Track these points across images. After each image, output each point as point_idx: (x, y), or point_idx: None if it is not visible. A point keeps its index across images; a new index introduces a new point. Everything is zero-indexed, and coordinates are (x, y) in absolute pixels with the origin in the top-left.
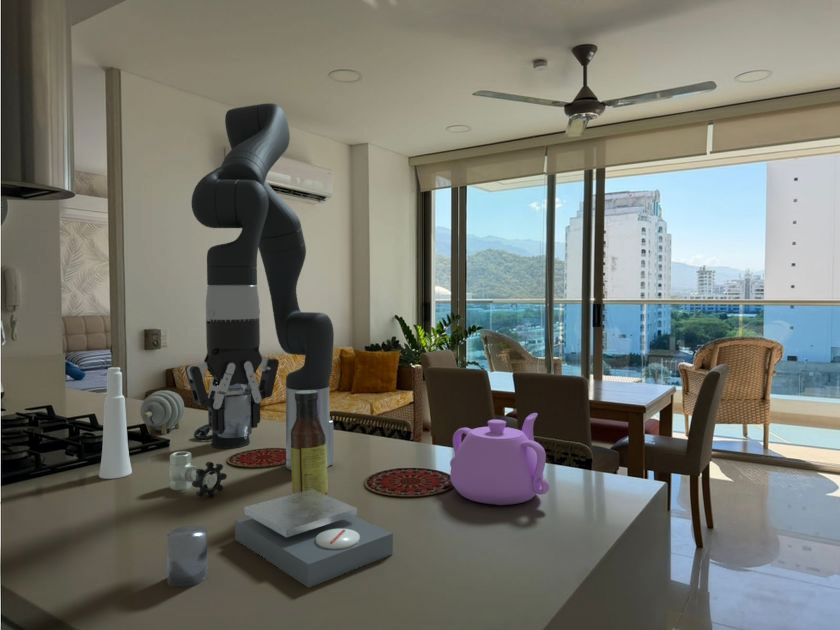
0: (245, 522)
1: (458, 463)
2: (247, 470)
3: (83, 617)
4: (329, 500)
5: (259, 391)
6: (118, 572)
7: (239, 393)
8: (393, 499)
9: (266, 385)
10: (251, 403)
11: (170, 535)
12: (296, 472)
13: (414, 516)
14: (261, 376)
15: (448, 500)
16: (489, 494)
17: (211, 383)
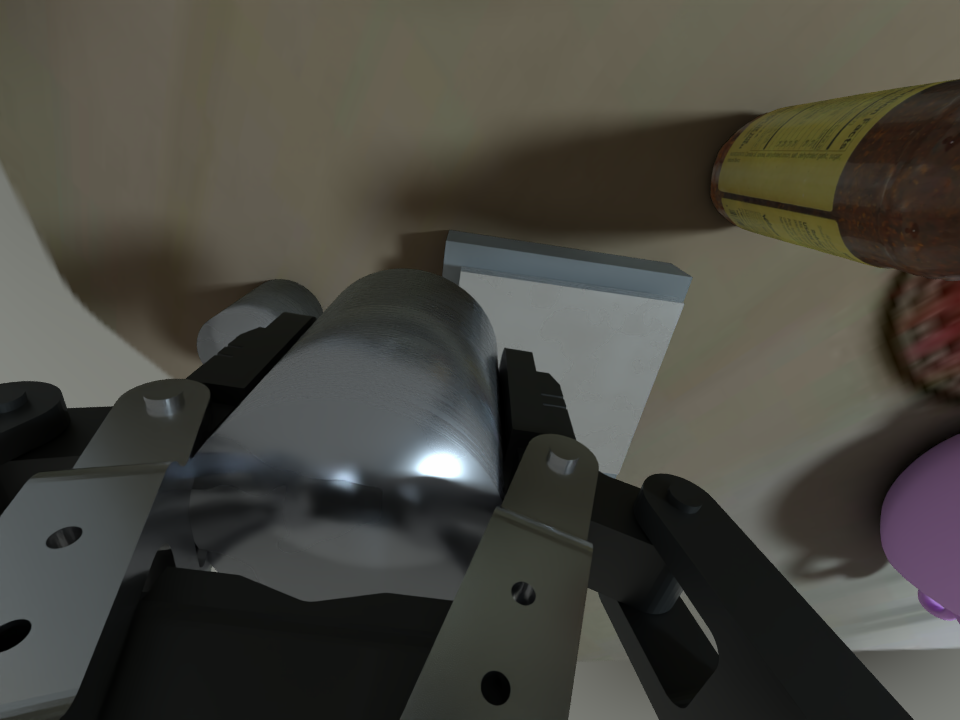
0: (454, 277)
1: None
2: None
3: (95, 303)
4: (628, 402)
5: (599, 566)
6: (171, 171)
7: (396, 546)
8: (864, 339)
9: (638, 670)
10: (506, 487)
11: (205, 339)
12: (767, 181)
13: (769, 434)
14: (763, 680)
15: (895, 434)
16: (883, 539)
17: (4, 539)
